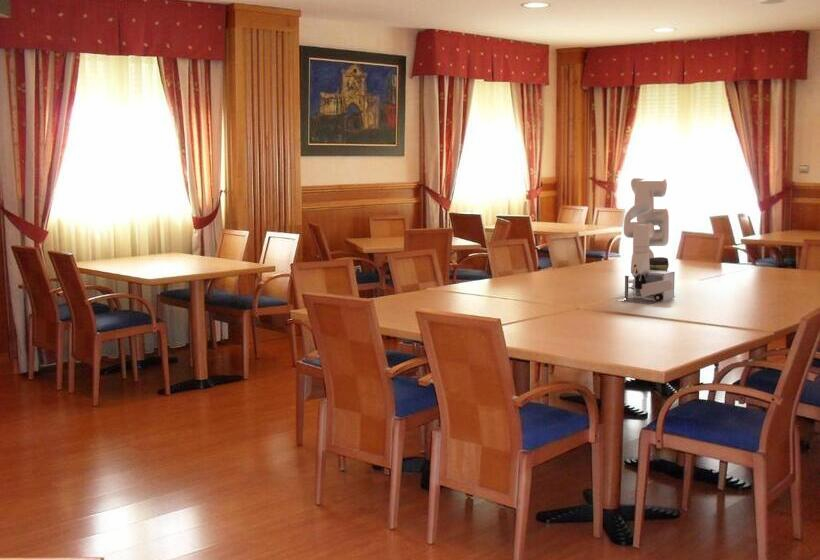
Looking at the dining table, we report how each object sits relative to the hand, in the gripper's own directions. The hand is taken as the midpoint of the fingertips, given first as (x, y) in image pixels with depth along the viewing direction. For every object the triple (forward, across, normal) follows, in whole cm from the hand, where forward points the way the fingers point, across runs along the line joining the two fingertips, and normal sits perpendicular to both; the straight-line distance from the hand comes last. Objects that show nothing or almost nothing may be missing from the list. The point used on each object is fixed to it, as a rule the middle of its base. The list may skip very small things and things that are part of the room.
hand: (640, 288), depth 468 cm
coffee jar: (+7, -26, -5) cm, 27 cm away
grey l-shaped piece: (+6, 0, -1) cm, 6 cm away
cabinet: (+6, -13, 0) cm, 14 cm away
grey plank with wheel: (+3, 0, +1) cm, 3 cm away
